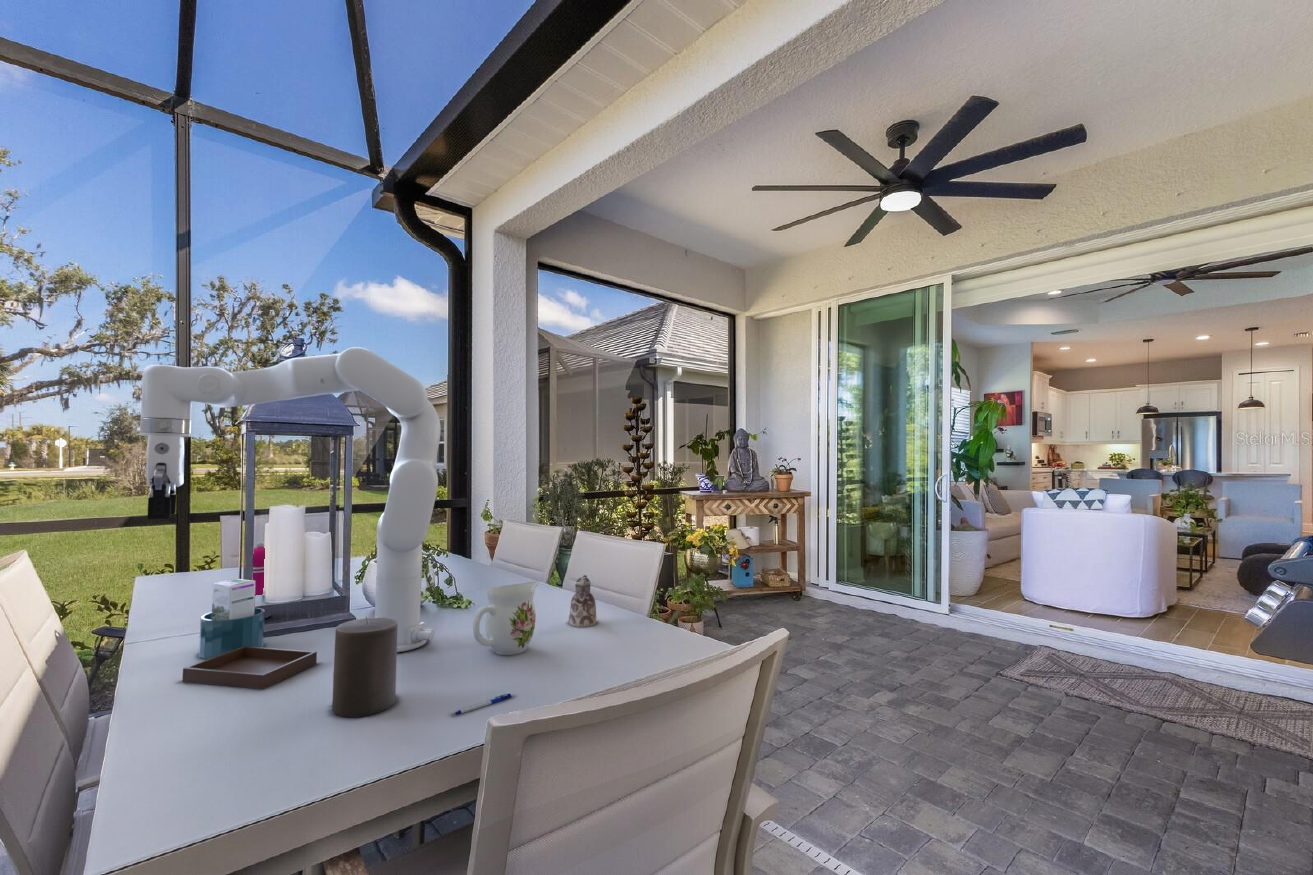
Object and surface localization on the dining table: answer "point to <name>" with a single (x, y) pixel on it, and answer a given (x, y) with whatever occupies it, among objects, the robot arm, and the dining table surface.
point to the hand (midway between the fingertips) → (162, 516)
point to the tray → (250, 667)
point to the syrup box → (233, 599)
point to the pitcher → (508, 618)
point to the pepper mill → (259, 567)
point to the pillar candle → (364, 666)
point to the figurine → (582, 605)
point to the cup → (230, 633)
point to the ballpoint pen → (484, 704)
